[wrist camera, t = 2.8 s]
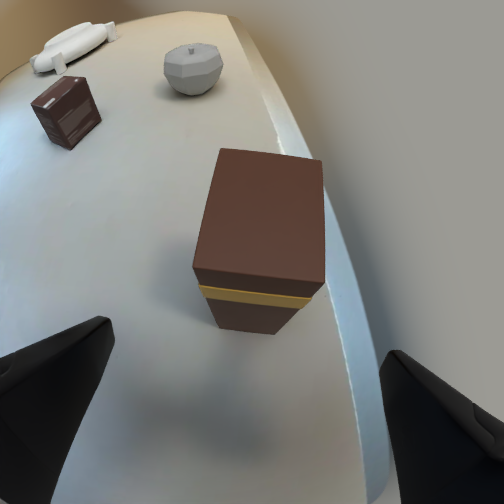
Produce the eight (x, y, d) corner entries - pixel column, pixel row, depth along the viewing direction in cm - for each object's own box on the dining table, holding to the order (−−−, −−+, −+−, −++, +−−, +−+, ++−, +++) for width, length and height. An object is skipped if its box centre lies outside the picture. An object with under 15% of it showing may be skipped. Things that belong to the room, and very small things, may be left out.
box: (80, 113, 29) (64, 74, 22) (103, 120, 28) (86, 76, 21) (50, 141, 27) (29, 103, 20) (69, 152, 26) (46, 108, 19)
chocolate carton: (275, 335, 19) (326, 285, 8) (218, 328, 19) (189, 268, 8) (280, 269, 21) (323, 159, 10) (227, 263, 21) (219, 146, 10)
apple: (157, 88, 31) (150, 49, 25) (206, 70, 33) (204, 33, 27) (181, 112, 29) (174, 66, 23) (236, 91, 31) (237, 48, 25)
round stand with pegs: (48, 56, 44) (42, 38, 37) (123, 27, 48) (119, 7, 41) (19, 95, 35) (9, 73, 28) (110, 54, 38) (103, 27, 32)
